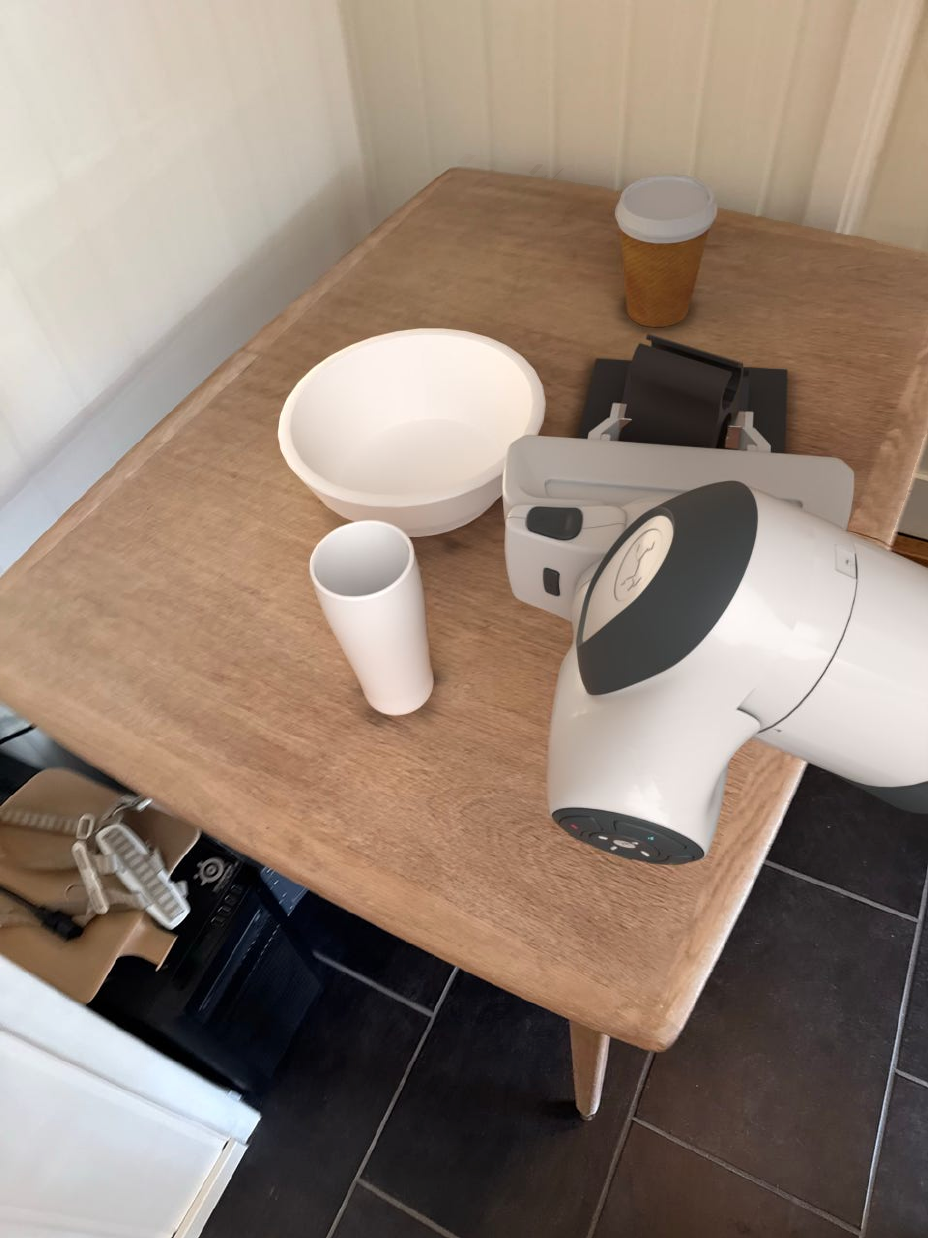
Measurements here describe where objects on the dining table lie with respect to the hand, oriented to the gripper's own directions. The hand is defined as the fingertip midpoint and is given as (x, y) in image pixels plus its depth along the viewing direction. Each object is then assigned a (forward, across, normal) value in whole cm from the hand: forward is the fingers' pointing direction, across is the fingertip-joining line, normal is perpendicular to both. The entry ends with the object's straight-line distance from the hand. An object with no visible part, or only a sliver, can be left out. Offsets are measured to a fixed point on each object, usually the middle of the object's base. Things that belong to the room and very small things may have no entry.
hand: (680, 415), depth 57 cm
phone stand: (-1, 0, +7) cm, 7 cm away
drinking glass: (-13, +18, +17) cm, 28 cm away
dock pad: (+17, 0, +17) cm, 24 cm away
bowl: (+9, +22, +17) cm, 29 cm away
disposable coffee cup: (+37, +4, +17) cm, 41 cm away
